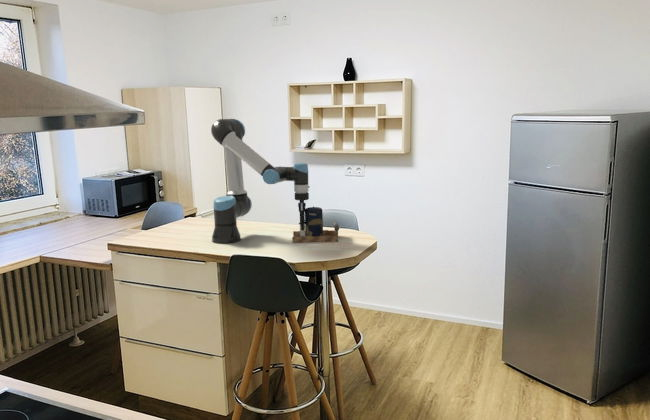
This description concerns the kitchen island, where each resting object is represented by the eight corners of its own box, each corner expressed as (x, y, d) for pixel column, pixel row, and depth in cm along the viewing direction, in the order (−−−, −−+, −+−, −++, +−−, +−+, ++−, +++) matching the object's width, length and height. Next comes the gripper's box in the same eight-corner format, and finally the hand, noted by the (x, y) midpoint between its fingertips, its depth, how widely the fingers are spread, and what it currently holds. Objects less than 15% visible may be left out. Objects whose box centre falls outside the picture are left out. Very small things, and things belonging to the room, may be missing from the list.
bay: (292, 242, 274) (292, 227, 273) (293, 236, 290) (293, 221, 288) (339, 241, 275) (339, 226, 274) (337, 235, 290) (337, 220, 289)
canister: (324, 237, 286) (323, 204, 283) (322, 241, 277) (321, 207, 274) (306, 237, 288) (305, 204, 284) (304, 241, 278) (303, 207, 275)
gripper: (308, 193, 271) (309, 238, 275) (308, 190, 284) (309, 233, 288) (294, 194, 271) (295, 238, 275) (294, 190, 284) (296, 233, 288)
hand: (302, 235), depth 282 cm, fingers closed
